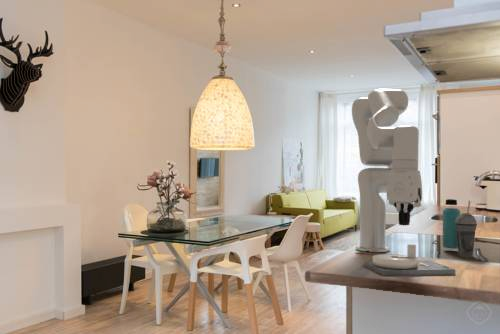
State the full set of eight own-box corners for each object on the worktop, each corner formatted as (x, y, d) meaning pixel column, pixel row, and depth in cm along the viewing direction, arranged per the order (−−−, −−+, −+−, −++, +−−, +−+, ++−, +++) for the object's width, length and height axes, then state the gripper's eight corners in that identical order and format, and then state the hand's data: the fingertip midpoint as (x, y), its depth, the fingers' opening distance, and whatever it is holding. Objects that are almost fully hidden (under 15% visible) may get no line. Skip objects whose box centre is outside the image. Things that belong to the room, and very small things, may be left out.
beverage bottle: (462, 253, 173) (462, 199, 173) (444, 252, 174) (444, 199, 174) (458, 250, 179) (458, 199, 179) (440, 249, 180) (440, 198, 181)
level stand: (363, 265, 145) (363, 260, 145) (429, 264, 148) (429, 259, 148) (382, 275, 130) (382, 269, 130) (455, 274, 133) (455, 268, 133)
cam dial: (379, 268, 132) (379, 247, 132) (368, 260, 145) (368, 241, 145) (424, 269, 132) (424, 248, 132) (409, 260, 145) (409, 241, 145)
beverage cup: (453, 254, 170) (454, 200, 170) (475, 255, 168) (475, 200, 168) (455, 257, 163) (455, 200, 164) (478, 258, 161) (478, 201, 161)
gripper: (377, 165, 146) (376, 223, 146) (419, 166, 134) (418, 228, 134) (392, 165, 151) (391, 221, 151) (434, 166, 139) (433, 226, 139)
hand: (404, 224), depth 143 cm, fingers closed
